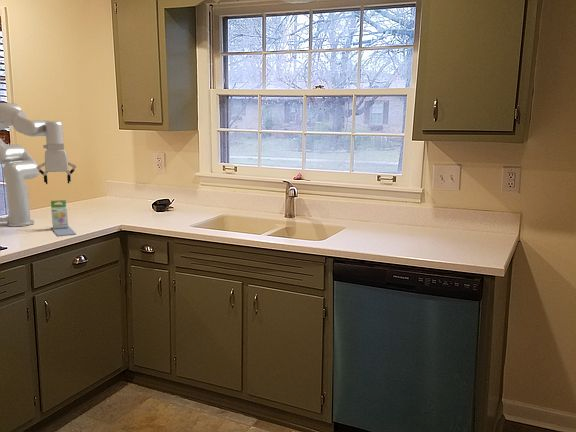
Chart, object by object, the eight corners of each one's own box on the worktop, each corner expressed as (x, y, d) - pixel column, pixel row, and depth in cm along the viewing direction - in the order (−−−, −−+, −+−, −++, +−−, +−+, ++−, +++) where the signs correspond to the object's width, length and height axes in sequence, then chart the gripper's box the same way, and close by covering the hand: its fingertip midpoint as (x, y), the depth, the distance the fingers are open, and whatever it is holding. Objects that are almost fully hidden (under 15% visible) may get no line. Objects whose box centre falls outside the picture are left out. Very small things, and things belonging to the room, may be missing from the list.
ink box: (52, 229, 258) (50, 201, 256) (52, 227, 262) (50, 200, 259) (68, 228, 261) (66, 201, 259) (68, 226, 265) (66, 199, 262)
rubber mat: (57, 236, 246) (57, 235, 246) (51, 228, 263) (51, 227, 263) (76, 234, 250) (76, 233, 250) (68, 226, 267) (68, 225, 267)
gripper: (34, 148, 248) (37, 185, 251) (75, 147, 255) (77, 183, 258) (35, 147, 255) (38, 183, 258) (74, 146, 261) (76, 181, 265)
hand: (57, 183), depth 258 cm, fingers open, 9 cm apart
